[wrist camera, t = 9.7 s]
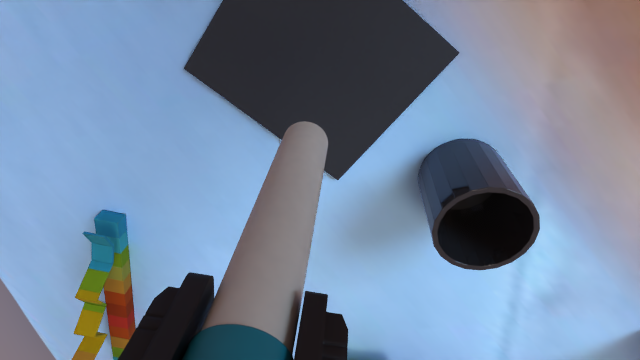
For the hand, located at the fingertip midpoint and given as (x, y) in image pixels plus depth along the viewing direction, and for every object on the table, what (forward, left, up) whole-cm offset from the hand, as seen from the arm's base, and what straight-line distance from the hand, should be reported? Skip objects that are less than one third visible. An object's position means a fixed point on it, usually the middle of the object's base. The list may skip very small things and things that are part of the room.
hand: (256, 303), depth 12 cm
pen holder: (+19, 0, -30) cm, 35 cm away
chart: (-3, -45, -30) cm, 54 cm away
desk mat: (-1, 0, -30) cm, 30 cm away
